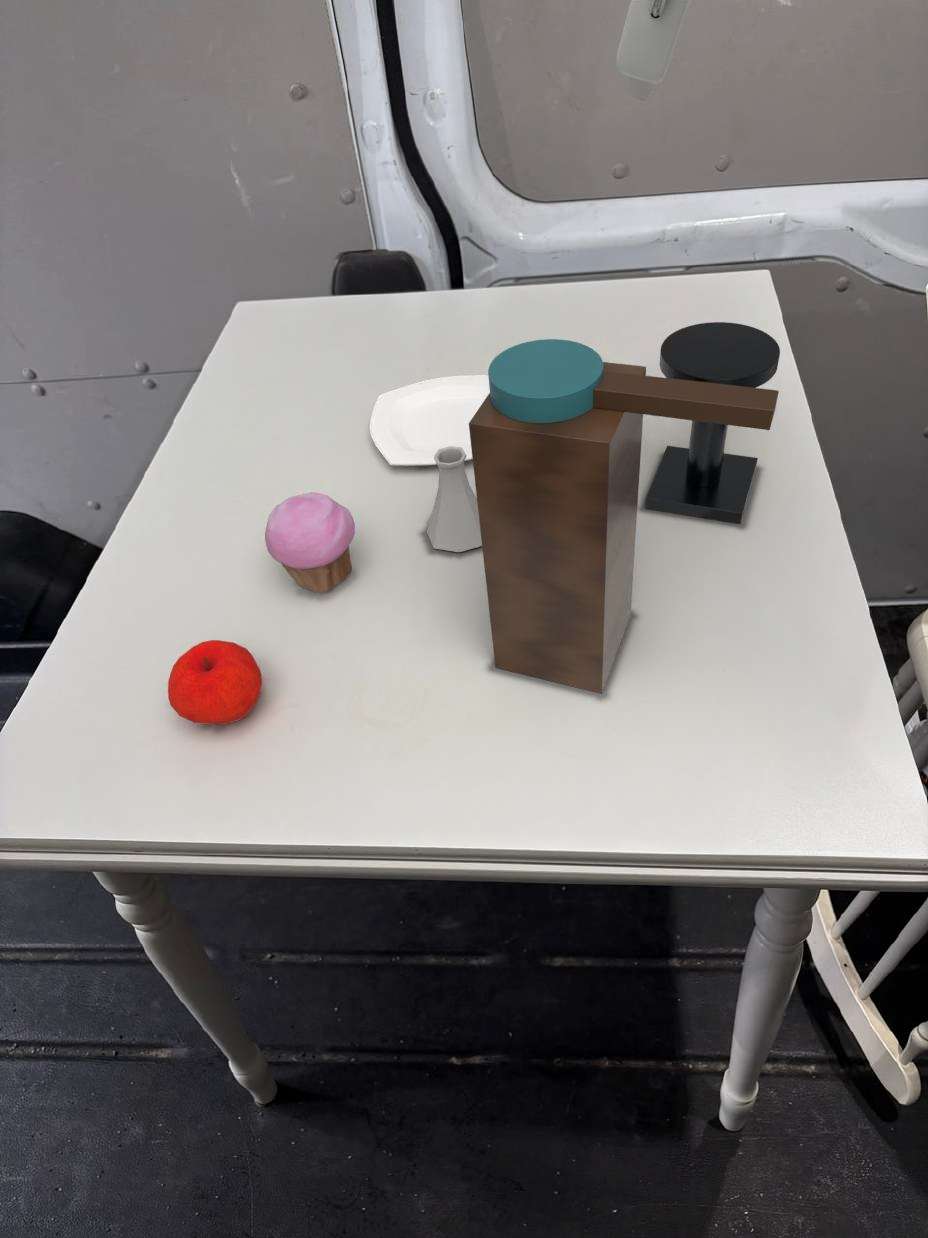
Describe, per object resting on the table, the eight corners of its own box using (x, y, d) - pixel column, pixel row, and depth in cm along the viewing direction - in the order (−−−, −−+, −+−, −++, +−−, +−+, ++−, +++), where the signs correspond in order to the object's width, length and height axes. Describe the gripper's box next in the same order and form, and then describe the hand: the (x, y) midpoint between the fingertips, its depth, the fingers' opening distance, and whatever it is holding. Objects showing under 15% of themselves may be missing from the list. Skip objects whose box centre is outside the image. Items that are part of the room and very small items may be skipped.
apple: (184, 755, 73) (153, 703, 68) (184, 688, 78) (156, 635, 73) (275, 733, 74) (251, 679, 68) (268, 668, 79) (246, 613, 74)
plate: (540, 459, 98) (540, 445, 97) (378, 488, 97) (375, 474, 96) (509, 378, 111) (508, 365, 110) (366, 403, 111) (364, 389, 109)
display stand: (761, 466, 93) (787, 327, 81) (744, 528, 86) (771, 385, 74) (662, 452, 97) (674, 317, 85) (639, 510, 90) (648, 372, 78)
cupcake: (381, 566, 88) (363, 489, 81) (332, 619, 83) (308, 543, 76) (315, 543, 91) (292, 468, 84) (264, 593, 87) (236, 518, 79)
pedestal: (630, 615, 79) (646, 366, 61) (601, 693, 73) (609, 443, 55) (530, 594, 83) (516, 352, 64) (495, 668, 76) (468, 423, 58)
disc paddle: (781, 388, 57) (786, 361, 56) (763, 455, 52) (768, 427, 51) (512, 358, 63) (510, 334, 62) (473, 415, 58) (471, 389, 57)
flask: (493, 552, 87) (486, 474, 80) (425, 556, 88) (411, 479, 81) (493, 508, 93) (486, 431, 85) (428, 513, 93) (416, 437, 86)
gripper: (723, -33, 49) (657, 158, 62) (797, -241, 55) (723, -26, 68) (621, -65, 49) (577, 132, 63) (706, -269, 55) (649, -49, 69)
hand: (654, 48), depth 66 cm, fingers open, 8 cm apart
